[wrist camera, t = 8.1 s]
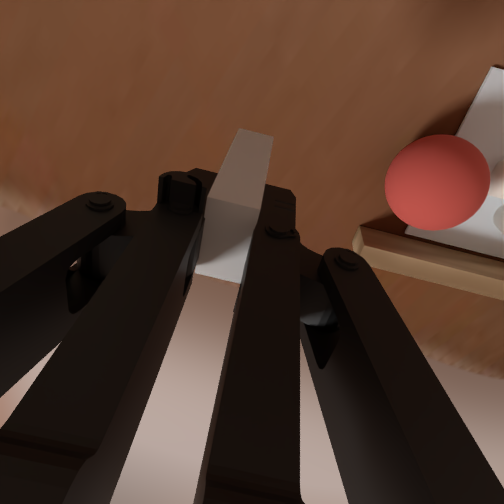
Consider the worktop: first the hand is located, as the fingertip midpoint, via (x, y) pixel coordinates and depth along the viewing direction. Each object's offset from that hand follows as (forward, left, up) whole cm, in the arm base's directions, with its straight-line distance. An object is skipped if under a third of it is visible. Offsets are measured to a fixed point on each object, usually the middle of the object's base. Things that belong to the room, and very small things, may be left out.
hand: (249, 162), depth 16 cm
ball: (+1, +11, -8) cm, 14 cm away
